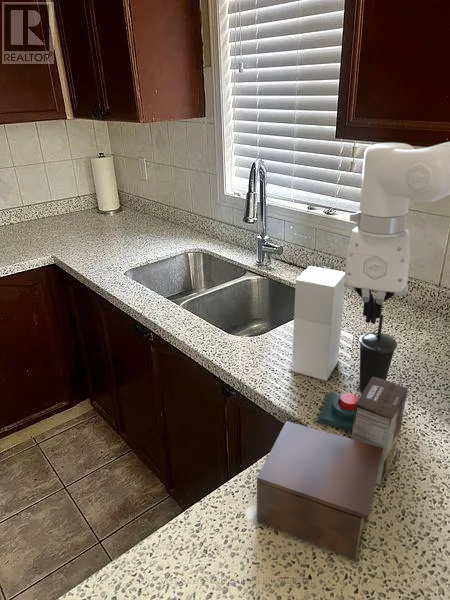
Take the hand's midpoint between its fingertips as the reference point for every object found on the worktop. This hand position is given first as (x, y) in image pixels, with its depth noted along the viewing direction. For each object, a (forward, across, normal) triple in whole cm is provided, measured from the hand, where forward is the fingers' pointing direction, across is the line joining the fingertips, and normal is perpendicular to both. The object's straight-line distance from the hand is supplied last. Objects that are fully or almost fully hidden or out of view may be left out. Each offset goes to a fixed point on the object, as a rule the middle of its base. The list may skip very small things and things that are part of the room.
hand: (371, 319), depth 82 cm
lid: (+14, -2, -24) cm, 28 cm away
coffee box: (+25, +4, -10) cm, 27 cm away
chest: (+24, -3, -24) cm, 34 cm away
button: (+21, -3, 0) cm, 21 cm away
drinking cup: (+24, 0, +11) cm, 27 cm away
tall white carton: (+24, -14, +15) cm, 32 cm away
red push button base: (+24, -3, 0) cm, 24 cm away
